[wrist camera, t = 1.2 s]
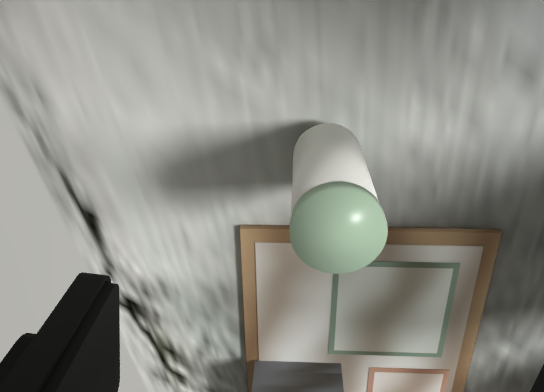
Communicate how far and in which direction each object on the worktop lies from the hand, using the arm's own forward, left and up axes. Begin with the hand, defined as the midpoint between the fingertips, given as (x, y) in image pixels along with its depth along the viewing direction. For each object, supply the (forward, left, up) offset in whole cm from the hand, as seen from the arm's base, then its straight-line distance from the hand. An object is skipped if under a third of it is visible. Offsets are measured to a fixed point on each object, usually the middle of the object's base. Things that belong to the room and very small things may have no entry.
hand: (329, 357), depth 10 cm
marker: (-1, +3, -20) cm, 20 cm away
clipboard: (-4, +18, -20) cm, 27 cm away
